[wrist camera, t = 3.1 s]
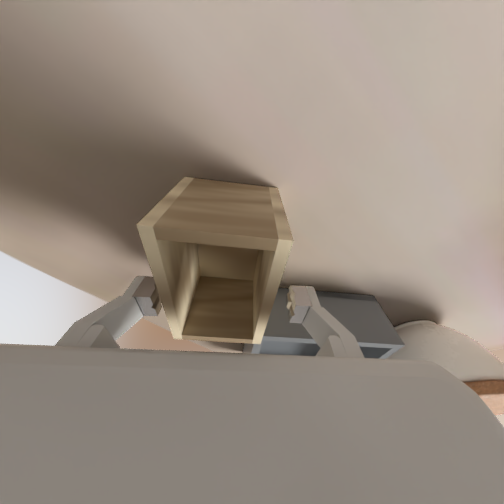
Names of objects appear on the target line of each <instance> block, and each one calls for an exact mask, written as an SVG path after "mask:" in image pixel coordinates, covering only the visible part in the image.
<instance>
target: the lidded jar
mask: <svg viewBox="0 0 504 504" xmlns="http://www.w3.org/2000/svg"><path fill="white" fill-rule="evenodd" d="M394 328H395V330H396V332H397V333H398V335H399V336H400V338H401V339H402V341H403V343H404V344H405V346H403V347H402V348H401V349H399V350H398V351H396V352H395V353H393V354H392V355H391V356H389V357H388V358H386V359H401V360H425V361H432V362H435V363H437V364H438V365H440V366H441V367H443V368H444V369H446V370H447V371H449V372H450V373H451V374H453V375H454V376H455V377H457V378H458V379H459V380H461V381H462V382H463V383H465V384H466V385H467V386H469V387H470V388H471V389H472V390H473V391H475V392H476V393H477V394H478V396H479V397H480V398H481V399H482V400H483V401H484V402H485V403H486V405H487V406H488V407H489V408H490V410H491V411H492V412H493V414H494V415H500V414H504V363H503V362H502V361H501V360H500V359H498V358H497V357H496V356H495V355H494V354H492V353H491V352H490V351H489V350H488V349H486V348H485V347H484V346H482V345H481V344H480V343H478V342H477V341H475V340H474V339H472V338H470V337H469V336H467V335H465V334H463V333H461V332H459V331H457V330H454V329H451V328H448V327H445V326H441V325H437V324H436V323H435V322H433V321H428V320H418V321H411V322H407V323H404V324H400V325H398V326H396V327H394Z"/></svg>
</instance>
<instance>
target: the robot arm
mask: <svg viewBox="0 0 504 504" xmlns="http://www.w3.org/2000/svg"><path fill="white" fill-rule="evenodd" d="M161 303H162V302H161V299H160V296H159V293H158V290H157V287H156V283H155V280H154V277H149V276H137V277H136V278H135V279H134V280H133V282H132V283H131V285H130V286H129V287H128V289H127V290H126V292H125V293H124V294H123V296H119V297H117V298H116V299H114V300H112V301H111V302H109V303H107V304H106V305H104V306H102V307H100V308H99V309H97V310H95V311H93V312H92V313H90V314H88V315H87V316H85V317H83V318H82V319H80V320H78V321H76V322H75V323H74V324H73V325H72V326H71V327H70V328H69V330H68V331H67V332H66V333H65V334H64V335H63V337H62V338H61V339H60V340H59V341H58V342H57V344H56V345H55V346H45V345H19V344H0V504H504V427H503V425H502V424H501V423H500V421H499V420H498V419H497V418H496V416H495V415H494V414H493V412H492V411H491V410H490V408H489V407H488V406H487V405H486V403H485V402H484V401H483V400H482V399H481V398H480V397H479V396H478V394H477V393H476V392H475V391H473V390H472V389H471V388H470V387H469V386H467V385H466V384H465V383H463V382H462V381H461V380H459V379H458V378H457V377H455V376H454V375H453V374H451V373H450V372H449V371H447V370H446V369H444V368H443V367H441V366H440V365H438V364H437V363H435V362H432V361H425V360H401V359H375V358H365V357H364V355H363V353H362V351H361V349H360V347H359V344H358V342H357V340H356V338H355V336H354V335H353V334H352V333H351V332H350V331H349V330H348V329H346V328H345V327H344V326H343V325H342V324H341V323H340V322H339V321H338V320H337V319H336V318H334V317H333V316H332V315H331V314H330V313H329V312H328V311H327V310H326V309H325V308H324V307H321V305H320V303H319V300H318V297H317V294H316V292H315V289H314V287H313V286H295V285H290V286H289V293H287V296H286V307H287V308H288V309H289V311H288V318H289V323H301V324H302V325H303V326H304V327H305V329H306V330H307V331H308V333H309V334H310V335H311V336H312V338H313V339H314V340H315V342H316V343H317V344H318V346H319V347H320V350H319V351H318V353H317V354H316V356H298V355H273V354H248V353H223V352H197V351H170V350H146V349H144V350H143V349H121V348H120V346H119V345H118V344H117V343H116V340H117V339H118V338H119V337H120V336H121V335H123V334H124V333H125V332H126V331H127V330H128V329H129V328H131V326H133V325H134V324H135V323H136V322H138V321H139V320H140V319H141V318H142V317H143V316H158V314H159V312H160V310H161V308H162V306H161Z"/></svg>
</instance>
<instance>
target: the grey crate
mask: <svg viewBox="0 0 504 504" xmlns="http://www.w3.org/2000/svg"><path fill="white" fill-rule="evenodd" d="M315 292H316V294H317V297H318V300H319V303H320V305H321V307H324V308H325V309H326V310H327V311H328V312H329V313H330V314H331V315H332V316H333V317H334V318H336V319H337V320H338V321H339V322H340V323H341V324H342V325H343V326H344V327H345V328H346V329H348V330H349V331H350V332H351V333H352V334H353V335H354V336H355V338H356V340H357V342H358V344H359V347H360V349H361V351H362V353H363V355H364V357H365V358H375V359H386V358H388V357H389V356H391V355H392V354H393V353H395V352H396V351H398V350H399V349H401V348H402V347H403V346H405V344H404V343H403V341H402V339H401V338H400V336H399V335H398V333H397V332H396V330H395V328H394V327H393V325H392V324H391V322H390V321H389V319H388V317H387V316H386V314H385V313H384V311H383V310H382V308H381V307H380V305H379V303H378V302H377V300H376V299H375V297H374V296H371V295H359V294H347V293H335V292H323V291H315ZM287 293H289V289H287V288H278V291H277V294H276V297H275V300H274V304H273V307H272V310H271V313H270V316H269V319H268V322H267V325H266V328H265V332H264V335H263V338H262V341H261V344H249V343H244V347H243V353H248V354H273V355H298V356H316V354H317V353H318V351H319V350H320V347H319V346H318V344H317V343H316V342H315V340H314V339H313V338H312V336H311V335H310V334H309V333H308V331H307V330H306V329H305V327H304V326H303V325H302V324H301V323H289V318H288V311H289V309H288V308H287V307H286V296H287Z"/></svg>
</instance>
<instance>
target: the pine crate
mask: <svg viewBox="0 0 504 504" xmlns="http://www.w3.org/2000/svg"><path fill="white" fill-rule="evenodd" d="M136 226H137V229H138V232H139V235H140V238H141V241H142V244H143V247H144V250H145V253H146V256H147V259H148V262H149V265H150V268H151V271H152V274H153V277H154V280H155V283H156V287H157V290H158V293H159V296H160V299H161V302H162V305H163V308H164V311H165V314H166V317H167V320H168V323H169V326H170V329H171V332H172V335H173V338H174V339H184V340H200V341H216V342H233V343H249V344H261V341H262V338H263V335H264V332H265V328H266V325H267V322H268V319H269V316H270V313H271V310H272V307H273V304H274V300H275V297H276V294H277V291H278V288H279V285H280V282H281V279H282V275H283V272H284V269H285V266H286V263H287V260H288V257H289V254H290V251H291V247H292V244H293V237H292V234H291V231H290V227H289V224H288V221H287V217H286V214H285V211H284V207H283V204H282V201H281V197H280V194H279V190H278V188H273V187H265V186H257V185H249V184H240V183H232V182H224V181H216V180H207V179H199V178H191V177H184V178H183V179H182V180H181V181H180V182H179V183H178V184H177V185H176V186H175V187H174V188H173V189H172V190H171V191H170V192H169V193H168V194H167V195H166V196H165V197H164V198H163V199H162V200H161V201H160V202H159V203H158V204H157V205H156V206H155V207H154V208H153V209H152V210H151V211H150V212H149V213H148V214H147V215H146V216H145V217H144V218H143V219H142V220H141V221H140V222H139V223H138V224H137V225H136Z"/></svg>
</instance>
